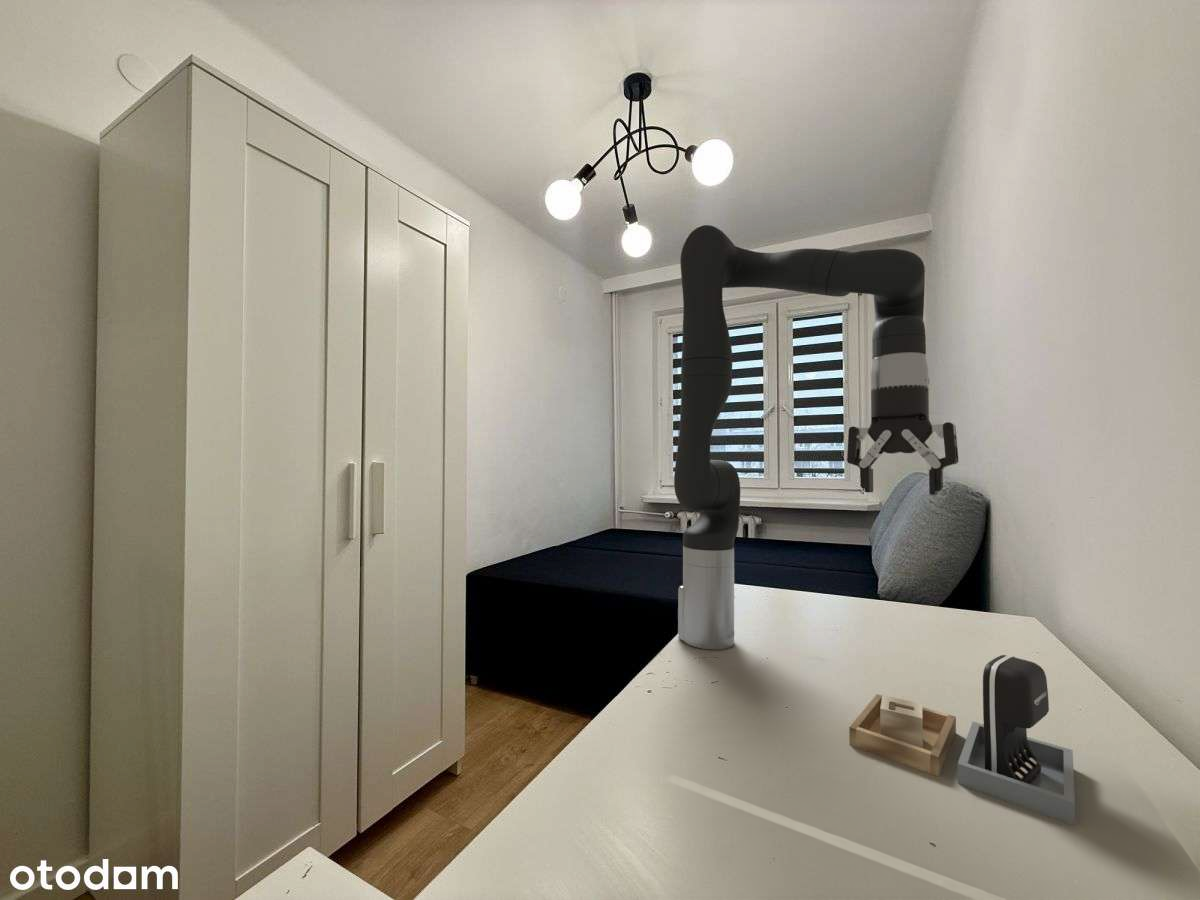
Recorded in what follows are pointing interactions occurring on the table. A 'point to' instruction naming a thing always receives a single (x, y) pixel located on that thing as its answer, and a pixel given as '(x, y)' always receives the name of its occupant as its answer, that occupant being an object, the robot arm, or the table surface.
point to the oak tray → (928, 759)
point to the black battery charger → (1012, 715)
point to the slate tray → (1041, 795)
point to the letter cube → (902, 720)
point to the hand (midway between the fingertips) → (900, 493)
